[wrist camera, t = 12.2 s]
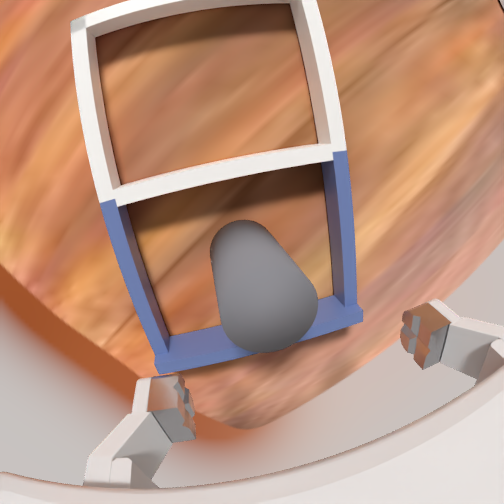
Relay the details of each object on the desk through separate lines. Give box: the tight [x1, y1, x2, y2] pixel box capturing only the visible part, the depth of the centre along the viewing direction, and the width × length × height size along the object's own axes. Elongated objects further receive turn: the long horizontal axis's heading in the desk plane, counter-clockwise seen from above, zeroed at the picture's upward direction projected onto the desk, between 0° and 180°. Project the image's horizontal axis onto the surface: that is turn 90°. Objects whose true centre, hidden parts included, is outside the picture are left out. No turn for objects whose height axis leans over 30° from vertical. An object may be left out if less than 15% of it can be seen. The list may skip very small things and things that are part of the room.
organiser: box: [70, 0, 363, 374], centre depth 17 cm, size 15×24×3 cm, turn 11°
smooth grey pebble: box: [210, 220, 318, 353], centre depth 17 cm, size 4×4×8 cm
